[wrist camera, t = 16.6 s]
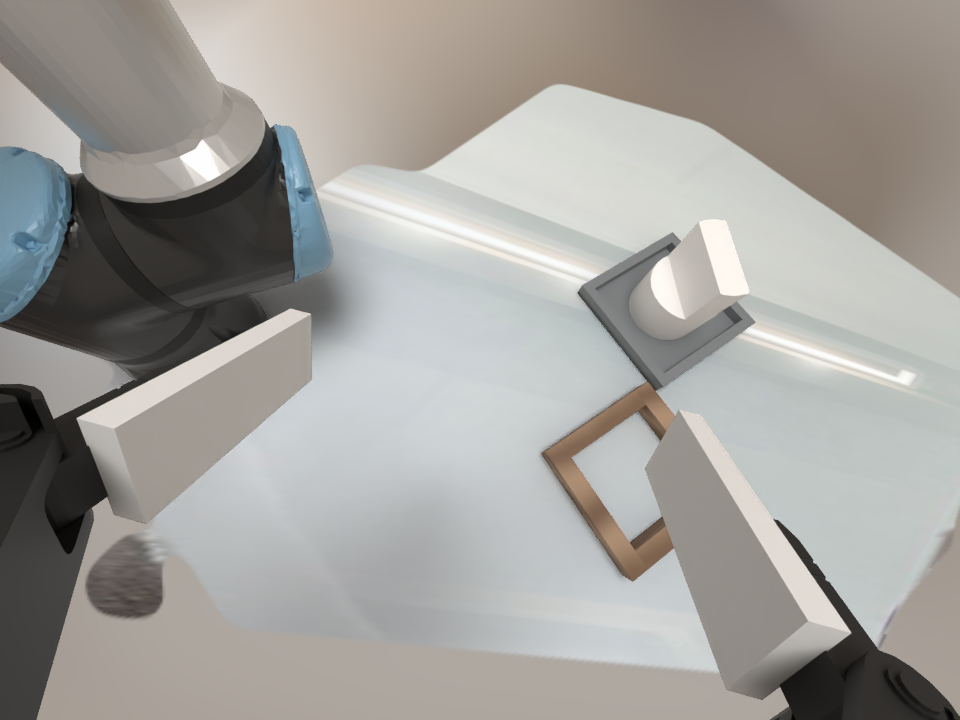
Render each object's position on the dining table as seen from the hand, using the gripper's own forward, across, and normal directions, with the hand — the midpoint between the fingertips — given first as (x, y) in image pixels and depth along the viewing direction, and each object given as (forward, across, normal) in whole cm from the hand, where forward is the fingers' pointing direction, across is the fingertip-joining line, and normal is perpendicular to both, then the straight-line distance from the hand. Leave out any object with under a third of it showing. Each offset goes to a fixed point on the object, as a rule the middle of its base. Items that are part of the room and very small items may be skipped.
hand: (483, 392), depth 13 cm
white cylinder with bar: (+38, +20, -4) cm, 43 cm away
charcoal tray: (+39, +20, -5) cm, 44 cm away
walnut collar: (+23, +19, -20) cm, 36 cm away
